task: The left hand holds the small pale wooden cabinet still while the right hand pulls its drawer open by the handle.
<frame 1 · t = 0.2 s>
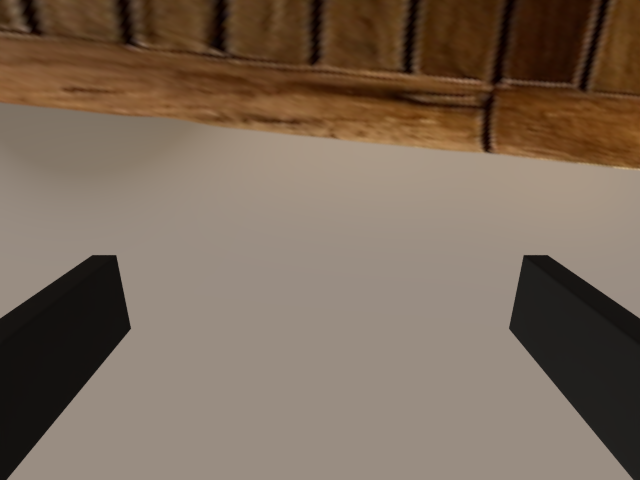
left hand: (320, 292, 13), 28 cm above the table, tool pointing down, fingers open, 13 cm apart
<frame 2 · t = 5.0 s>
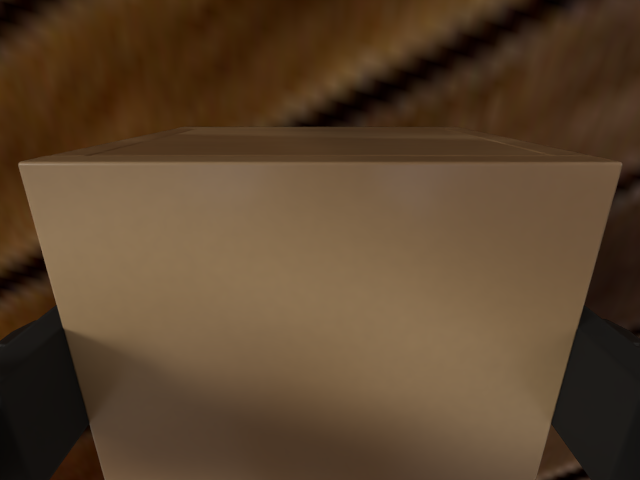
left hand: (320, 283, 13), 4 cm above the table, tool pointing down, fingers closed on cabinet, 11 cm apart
cabinet: (320, 303, 18), on the table, touching left hand
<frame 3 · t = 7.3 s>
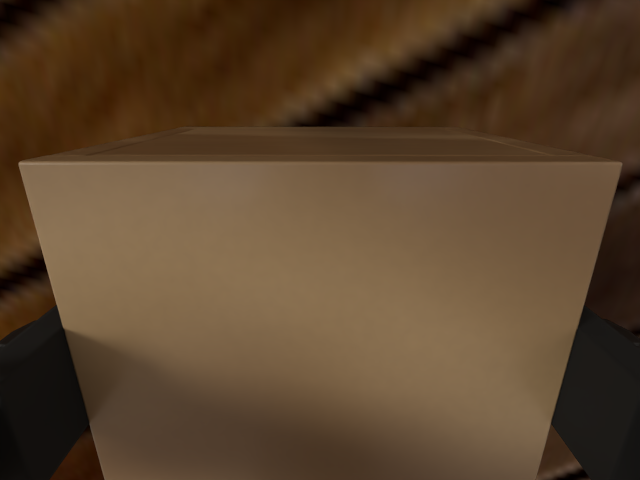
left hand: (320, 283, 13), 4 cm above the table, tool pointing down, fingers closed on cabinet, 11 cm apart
cabinet: (320, 303, 18), on the table, touching left hand
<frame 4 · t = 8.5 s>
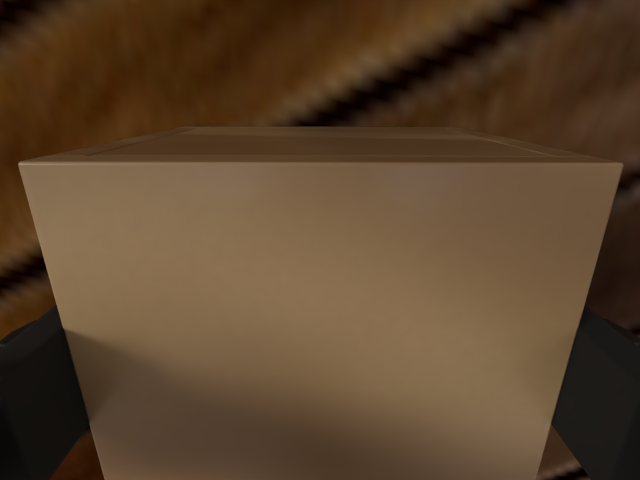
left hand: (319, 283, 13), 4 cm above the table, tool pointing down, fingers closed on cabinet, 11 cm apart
cabinet: (320, 302, 18), on the table, touching left hand
when the left hand's fingers open (4 cm above the table, at t = 10.1 s): cabinet stays where it is, on the table.
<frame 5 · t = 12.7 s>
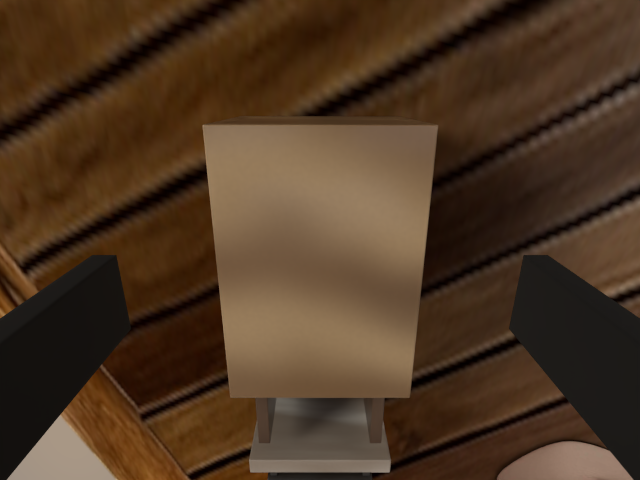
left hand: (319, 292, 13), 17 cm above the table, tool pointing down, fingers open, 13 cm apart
drawer: (320, 384, 29), point 5 cm above the table, slide at 6.3 cm
cabinet: (320, 227, 29), on the table
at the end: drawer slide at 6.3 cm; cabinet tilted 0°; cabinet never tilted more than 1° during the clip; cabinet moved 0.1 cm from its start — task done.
